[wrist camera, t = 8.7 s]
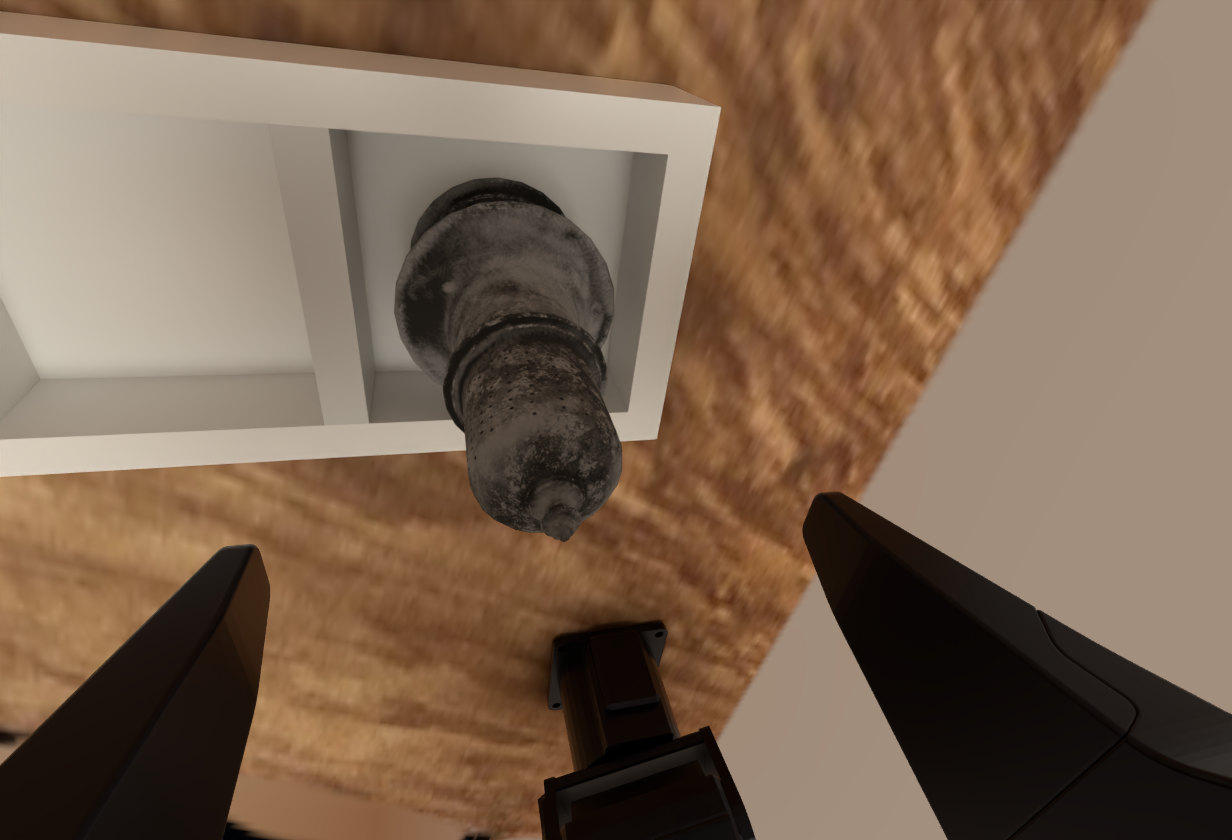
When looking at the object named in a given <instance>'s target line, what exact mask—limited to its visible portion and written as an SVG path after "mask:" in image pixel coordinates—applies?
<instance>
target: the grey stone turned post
mask: <svg viewBox="0 0 1232 840" xmlns="http://www.w3.org/2000/svg"><path fill="white" fill-rule="evenodd" d="M394 314H395V318H396V323H397V327H398V331H399V335H400V339H401V341H402V342H403V344H404V346H405V347H406V349H407V351H408V353H409V354H410V356H411V358H412V360H413V361H414V363H415V364H416V365H417V366H418V367H420V368H421V369H422V370H423V371H424V372H425V373H426V374H427V375H428V376H429V377H430V378H431V379H432V380H433V381H434V382H436V383H438V384H439V385H441V386H443V395H444V400H445V405H446V409H447V411H448V413H449V415H450V417H451V418H452V420H453V422H454V424H455V425H456V426H457V427H458V428H459V429H460V430H461V431H462V432H463V433H464V434H465V443H466V455H467V467H468V475H469V481H470V486H471V489H472V491H473V493H474V496H475V498H476V499H477V501H478V503H479V504H480V506H481V508H482V509H483V510H484V511H485V512H486V513H487V514H488V515H490V516H491V517H492V518H493V519H494V520H496V521H498V522H500V523H502V524H504V525H507V526H509V527H511V528H513V529H515V530H519V531H525V532H530V533H545V534H546V535H547V536H552V537H553V538H554V539H558V540H560V541H563V542H565V541H567V540H569V539H570V537H571V536H572V535H573V534H574V532H575V531H576V530H577V528H578V527H579V525H580V524H581V522H582V521H584V520H585V519H587V518H589V517H590V516H592V515H593V514H594V513H595V512H596V511H598V510H599V509H600V508H601V507H602V506H603V505H604V504H605V502H606V501H607V499H608V498H609V496H610V495H611V494H612V492H613V491H614V489H615V488H616V486H617V484H618V481H619V478H620V475H621V472H622V446H621V443H620V440H619V437H618V434H617V431H616V429H615V426H614V424H613V422H612V419H611V417H610V415H609V412H608V410H607V407H606V405H605V403H604V400H603V398H604V395H605V391H606V388H607V366H606V362H605V359H604V356H603V353H602V350H601V349H602V347H603V345H604V343H605V342H606V340H607V338H608V335H609V331H610V328H611V324H612V320H613V316H614V286H613V283H612V280H611V276H610V273H609V269H608V266H607V263H606V261H605V260H604V258H603V257H602V255H601V253H600V252H599V250H598V249H597V247H596V246H595V244H594V242H593V241H592V239H591V238H590V237H589V236H588V235H586V234H585V233H584V232H583V231H582V230H581V229H580V228H579V227H577V226H576V225H575V224H574V223H573V222H572V221H571V220H570V219H568V218H566V216H565V215H564V213H563V212H562V210H561V209H560V207H559V206H557V205H556V204H555V203H554V202H553V201H552V200H551V199H550V198H549V197H547V196H546V195H545V194H544V193H543V192H541V191H539V190H537V189H535V188H533V187H531V186H529V185H527V184H525V183H523V182H519V181H514V180H509V179H504V178H499V177H497V178H482V179H473V180H471V181H468V182H465V183H462V184H459V185H457V186H454V187H452V188H450V189H449V190H447V191H446V192H445V193H443V194H442V195H441V196H439V197H438V198H436V199H435V200H434V201H433V202H432V203H431V204H430V206H429V207H428V208H427V209H426V211H425V212H424V213H423V215H422V216H421V217H420V219H419V221H418V223H417V226H416V229H415V231H414V234H413V237H412V239H411V248H410V251H409V253H408V254H407V255H406V257H405V260H404V262H403V265H402V268H401V270H400V273H399V276H398V278H397V281H396V287H395V304H394Z"/></svg>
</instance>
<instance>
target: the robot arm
mask: <svg viewBox="0 0 1232 840" xmlns="http://www.w3.org/2000/svg"><path fill="white" fill-rule="evenodd" d="M802 531H803V538H804V541H805V544H806V546H807V549H808V551H809V554H810V557H811V559H812V562H813V564H814V567H815V569H816V572H817V575H818V577H819V580H820V582H821V585H822V587H823V590H824V592H825V595H826V598H827V600H828V603H829V605H830V607H831V610H832V612H833V614H834V616H835V619H836V621H837V623H838V625H839V627H840V629H841V631H842V633H843V635H844V637H845V639H846V640H847V643H848V645H849V646H850V648H851V650H852V652H853V654H854V656H855V658H856V660H857V662H858V664H859V666H860V668H861V670H862V672H863V674H864V676H865V678H866V680H867V682H868V684H869V686H870V688H871V690H872V691H873V694H874V696H875V698H876V699H877V701H878V703H879V705H880V707H881V709H882V711H883V713H884V715H885V717H886V719H887V721H888V723H889V725H890V727H891V729H892V731H893V733H894V735H895V737H896V739H897V741H898V742H899V745H900V747H901V749H902V751H903V752H904V754H905V756H906V758H907V760H908V762H909V764H910V766H911V768H912V770H913V772H914V774H915V776H916V778H917V780H918V782H919V784H920V786H921V788H922V790H923V792H924V794H925V795H926V798H927V800H928V802H929V804H930V806H931V808H932V810H933V811H934V813H935V815H936V817H937V819H938V821H939V823H940V825H941V827H942V829H943V831H944V833H945V835H946V837H947V839H948V840H1232V714H1230V713H1228V712H1226V711H1224V710H1222V709H1220V708H1218V707H1216V706H1215V705H1213V704H1211V703H1209V702H1207V701H1205V700H1203V699H1201V698H1199V697H1197V696H1196V695H1194V694H1192V693H1190V692H1188V691H1186V690H1184V689H1182V688H1180V687H1178V686H1176V685H1175V684H1172V683H1171V682H1169V681H1167V680H1165V679H1163V678H1161V677H1159V676H1157V675H1156V674H1154V673H1152V672H1150V671H1148V670H1146V669H1144V668H1142V667H1140V666H1138V665H1136V664H1135V663H1133V662H1131V661H1129V660H1127V659H1125V658H1123V657H1122V656H1119V655H1118V654H1116V653H1114V652H1112V651H1110V650H1109V649H1107V648H1105V647H1103V646H1101V645H1099V644H1097V643H1096V642H1094V641H1092V640H1090V639H1088V638H1087V637H1085V636H1083V635H1082V634H1080V633H1078V632H1076V631H1075V630H1073V629H1071V628H1069V627H1068V626H1066V625H1064V624H1062V623H1061V622H1059V621H1057V620H1055V619H1054V618H1052V617H1051V616H1049V615H1047V614H1045V613H1044V612H1042V611H1041V610H1036V609H1035V607H1034V606H1032V605H1030V604H1029V603H1027V602H1025V601H1024V600H1022V599H1020V598H1019V597H1017V596H1015V595H1013V594H1012V593H1010V592H1008V591H1006V590H1005V589H1003V588H1002V587H1000V586H998V585H997V584H995V583H993V582H991V581H990V580H988V579H986V578H985V577H983V576H981V575H980V574H978V573H976V572H974V571H973V570H971V569H969V568H968V567H966V566H964V565H963V564H961V563H959V562H958V561H956V560H954V559H952V558H951V557H949V556H948V555H946V554H944V553H942V552H941V551H939V550H937V549H936V548H934V547H932V546H930V545H929V544H927V543H925V542H924V541H922V540H921V539H919V538H917V537H915V536H914V535H912V534H910V533H909V532H907V531H905V530H904V529H902V528H900V527H899V526H897V525H895V524H893V523H892V522H890V521H888V520H887V519H885V518H883V517H882V516H880V515H878V514H876V513H875V512H873V511H871V510H870V509H868V508H866V507H865V506H863V505H861V504H860V503H858V502H856V501H855V500H853V499H851V498H850V497H848V496H846V495H844V494H843V493H840V492H825V493H819V494H817V495H816V496H815V497H814V499H813V502H812V504H811V506H810V509H809V511H808V514H807V516H806V519H805V521H804V524H803V529H802ZM269 602H270V584H269V580H268V577H267V573H266V570H265V567H264V564H263V561H262V557H261V554H260V551H259V549H258V548H257V546H255V545H253V544H246V545H235V546H226V547H223V548H221V549H220V550H218V551H217V552H216V553H215V554H214V555H213V556H212V557H211V558H210V559H209V560H208V561H207V562H206V563H205V564H204V565H203V566H202V567H201V568H200V569H199V570H198V571H197V572H196V573H195V574H194V575H193V576H192V577H191V578H190V579H189V580H188V581H187V582H186V583H185V584H184V585H183V586H182V587H181V588H180V589H179V590H178V591H177V592H176V593H175V594H174V595H173V596H172V597H171V598H170V599H168V600H167V601H166V602H165V603H164V604H163V605H162V606H161V607H160V608H159V609H158V610H157V611H156V612H155V613H154V614H153V615H152V616H151V617H150V618H149V619H148V620H147V621H146V622H145V623H144V624H143V625H142V626H141V627H140V628H139V629H138V630H137V631H136V632H135V633H134V634H133V635H132V636H131V637H130V638H129V639H128V640H127V641H126V642H125V643H124V644H123V645H122V646H121V647H120V648H119V649H118V650H117V651H116V652H115V653H114V654H113V655H112V656H111V657H110V658H109V659H107V660H106V661H105V662H104V663H103V664H102V665H101V666H100V667H99V668H98V669H97V670H96V671H95V672H94V673H93V674H92V675H91V676H90V677H89V678H88V679H87V680H86V681H85V682H84V683H83V684H82V685H81V686H80V687H79V688H78V689H77V690H76V691H75V692H74V693H73V694H72V695H71V696H70V697H69V698H68V699H67V700H66V701H65V702H64V703H63V704H62V705H61V706H60V707H59V708H58V709H57V710H56V711H55V712H54V713H53V714H52V715H51V716H50V717H49V718H48V719H46V720H45V721H44V722H43V723H42V724H41V725H40V726H39V727H38V728H37V729H36V730H35V731H34V732H33V733H32V734H31V735H30V736H29V737H28V738H27V739H26V740H25V741H24V742H23V743H22V744H21V745H20V746H19V747H18V748H17V749H16V750H15V751H14V752H13V753H12V754H11V755H10V756H9V757H8V758H7V759H6V760H5V761H4V762H3V763H2V764H1V765H0V840H222V837H223V833H224V829H225V826H226V822H227V818H228V814H229V810H230V806H231V802H232V798H233V794H234V790H235V786H236V782H237V778H238V774H239V770H240V766H241V763H242V759H243V755H244V751H245V747H246V743H247V739H248V735H249V731H250V727H251V723H252V719H253V715H254V710H255V706H256V701H257V695H258V688H259V681H260V673H261V665H262V657H263V649H264V641H265V633H266V626H267V618H268V610H269ZM666 637H667V629H666V626H665V625H664V624H663V623H656V624H649V625H642V626H635V627H628V628H621V629H614V630H607V631H600V632H593V633H587V634H580V635H573V636H566V637H560V638H558V639H556V640H555V641H554V642H553V644H552V655H551V665H550V676H549V686H548V696H547V703H548V708H549V709H550V710H559V709H563V713H564V718H565V724H566V729H567V735H568V740H569V745H570V751H571V756H572V762H573V767H574V772H573V773H570V774H567V775H564V776H561V777H558V778H555V777H551V778H548V779H545V780H544V789H545V794H544V795H542V796H541V797H540V798H539V799H538V805H539V813H540V820H541V828H542V840H756V839H755V836H754V832H753V829H752V826H751V823H750V820H749V818H748V815H747V812H746V809H745V807H744V805H743V802H742V799H741V797H740V795H739V792H738V790H737V788H736V785H735V783H734V781H733V779H732V776H731V774H730V772H729V770H728V767H727V765H726V763H725V761H724V759H723V756H722V754H721V752H720V749H719V747H718V745H717V743H716V740H715V738H714V736H713V734H712V731H711V729H710V727H709V726H706V727H703V728H700V729H699V731H697V732H694V733H691V734H688V735H685V736H682V737H681V735H680V733H679V730H678V727H677V724H676V721H675V718H674V715H673V712H672V709H671V706H670V703H669V700H668V697H667V694H666V691H665V688H664V685H663V682H662V679H661V676H660V673H659V670H658V667H659V663H660V660H661V656H662V652H663V648H664V645H665V641H666Z"/></svg>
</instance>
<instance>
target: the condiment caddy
mask: <svg viewBox="0 0 1232 840" xmlns="http://www.w3.org/2000/svg"><path fill="white" fill-rule="evenodd" d="M720 111H721V107H720V106H718V105H715V104H713V103H711V102H709V101H706V100H704V99H702V98H699V97H697V96H695V95H692V94H690V93H688V92H686V91H683V90H681V89H679V88H676V87H674V86H672V85H666V84H657V83H647V82H638V81H629V80H620V79H611V78H602V77H593V76H584V75H575V74H566V73H557V72H548V71H539V70H530V69H521V68H511V67H502V66H493V65H484V64H475V63H466V62H457V61H448V60H439V59H430V58H421V57H412V56H403V55H394V54H385V53H375V52H366V51H357V50H348V49H339V48H330V47H321V46H312V45H303V44H294V43H285V42H276V41H267V40H258V39H249V38H239V37H230V36H221V35H212V34H203V33H194V32H185V31H176V30H167V29H158V28H149V27H140V26H131V25H122V24H113V23H103V22H94V21H85V20H76V19H67V18H58V17H49V16H40V15H31V14H22V13H13V12H4V11H0V477H5V476H23V475H41V474H58V473H76V472H93V471H111V470H128V469H146V468H163V467H181V466H198V465H216V464H233V463H251V462H268V461H286V460H303V459H321V458H338V457H356V456H373V455H391V454H408V453H426V452H443V451H461V450H466V443H465V434H464V433H463V432H462V431H461V430H460V429H459V428H458V427H457V426H456V425H455V424H454V422H453V420H452V418H451V417H450V415H449V413H448V411H447V409H446V405H445V400H444V395H443V386H441V385H439V384H438V383H436V382H434V381H433V380H432V379H431V378H430V377H429V376H428V375H427V374H426V373H425V372H424V371H423V370H422V369H421V368H420V367H418V366H417V365H416V364H415V363H414V361H413V360H412V358H411V356H410V354H409V353H408V351H407V349H406V347H405V346H404V344H403V342H402V341H401V339H400V335H399V331H398V327H397V323H396V318H395V314H394V304H395V287H396V281H397V278H398V276H399V273H400V270H401V268H402V265H403V262H404V260H405V257H406V255H407V254H408V253H409V251H410V248H411V239H412V237H413V234H414V231H415V229H416V226H417V223H418V221H419V219H420V217H421V216H422V215H423V213H424V212H425V211H426V209H427V208H428V207H429V206H430V204H431V203H432V202H433V201H434V200H435V199H436V198H438V197H439V196H441V195H442V194H443V193H445V192H446V191H447V190H449V189H450V188H452V187H454V186H457V185H459V184H462V183H465V182H468V181H471V180H473V179H482V178H497V177H499V178H504V179H509V180H514V181H519V182H523V183H525V184H527V185H529V186H531V187H533V188H535V189H537V190H539V191H541V192H543V193H544V194H545V195H546V196H547V197H549V198H550V199H551V200H552V201H553V202H554V203H555V204H556V205H557V206H559V207H560V209H561V210H562V212H563V213H564V215H565V216H566V218H568V219H570V220H571V221H572V222H573V223H574V224H575V225H576V226H577V227H579V228H580V229H581V230H582V231H583V232H584V233H585V234H586V235H588V236H589V237H590V238H591V239H592V241H593V242H594V244H595V246H596V247H597V249H598V250H599V252H600V253H601V255H602V257H603V258H604V260H605V261H606V263H607V266H608V269H609V273H610V276H611V280H612V283H613V286H614V316H613V320H612V324H611V328H610V331H609V335H608V338H607V340H606V342H605V343H604V345H603V347H602V349H601V350H602V353H603V356H604V359H605V362H606V366H607V388H606V391H605V395H604V398H603V400H604V403H605V405H606V407H607V410H608V412H609V415H610V417H611V419H612V422H613V424H614V426H615V429H616V431H617V434H618V437H619V440H620V441H636V440H653V439H657V435H658V430H659V425H660V420H661V414H662V409H663V404H664V399H665V394H666V389H667V384H668V378H669V373H670V368H671V363H672V358H673V353H674V348H675V342H676V337H677V332H678V327H679V322H680V317H681V312H682V306H683V301H684V296H685V291H686V286H687V281H688V276H689V271H690V265H691V260H692V255H693V250H694V245H695V240H696V235H697V229H698V224H699V219H700V214H701V209H702V204H703V199H704V193H705V188H706V183H707V178H708V173H709V168H710V163H711V157H712V152H713V147H714V142H715V137H716V132H717V127H718V121H719V116H720Z"/></svg>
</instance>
